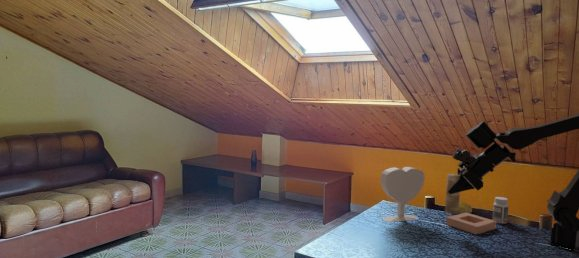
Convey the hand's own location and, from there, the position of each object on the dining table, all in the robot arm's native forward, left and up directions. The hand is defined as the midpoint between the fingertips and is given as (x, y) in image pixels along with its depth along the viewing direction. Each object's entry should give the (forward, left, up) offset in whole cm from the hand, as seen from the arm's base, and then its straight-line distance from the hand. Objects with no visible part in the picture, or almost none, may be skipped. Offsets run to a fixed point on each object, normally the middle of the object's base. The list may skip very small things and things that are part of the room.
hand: (448, 191), depth 133 cm
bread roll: (+12, -24, -14) cm, 30 cm away
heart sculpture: (+17, +2, -13) cm, 22 cm away
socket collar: (-1, -12, -13) cm, 18 cm away
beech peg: (-1, -1, -7) cm, 7 cm away
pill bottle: (-3, -26, -13) cm, 29 cm away
